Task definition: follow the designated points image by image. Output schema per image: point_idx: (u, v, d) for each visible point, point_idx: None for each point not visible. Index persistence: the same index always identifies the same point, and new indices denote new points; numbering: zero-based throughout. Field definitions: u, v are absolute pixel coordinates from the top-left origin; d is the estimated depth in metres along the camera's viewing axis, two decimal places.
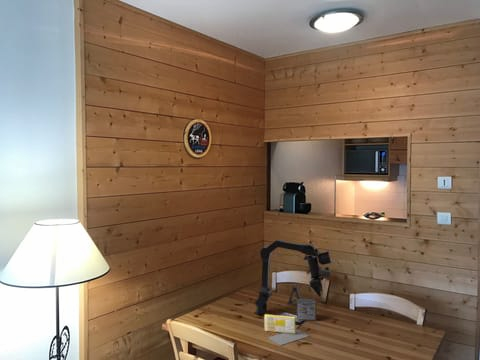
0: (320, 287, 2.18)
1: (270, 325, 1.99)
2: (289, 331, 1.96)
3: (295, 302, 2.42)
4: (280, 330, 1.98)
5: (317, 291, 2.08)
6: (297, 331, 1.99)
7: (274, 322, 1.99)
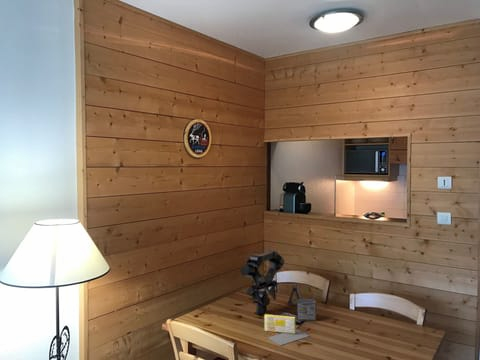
0: (273, 296, 2.11)
1: (270, 325, 1.99)
2: (289, 331, 1.96)
3: (295, 302, 2.42)
4: (280, 330, 1.98)
5: (257, 299, 2.06)
6: (297, 331, 1.99)
7: (274, 322, 1.99)
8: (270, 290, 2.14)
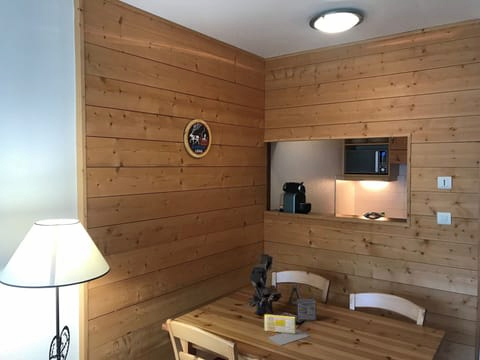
0: None
1: (270, 325, 1.99)
2: (289, 331, 1.96)
3: (295, 302, 2.42)
4: (280, 330, 1.98)
5: (267, 309, 2.05)
6: (297, 331, 1.99)
7: (274, 322, 1.99)
8: None
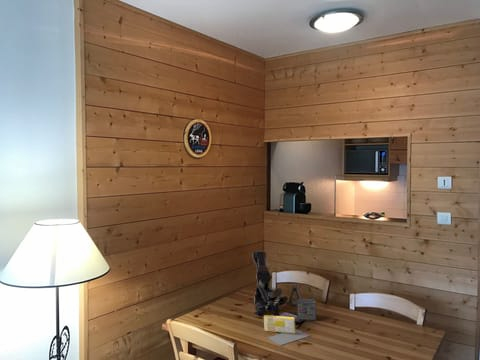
0: None
1: (269, 326, 1.99)
2: (289, 331, 1.96)
3: (295, 302, 2.42)
4: (280, 330, 1.97)
5: (273, 313, 2.01)
6: (297, 331, 1.99)
7: (273, 323, 1.98)
8: None
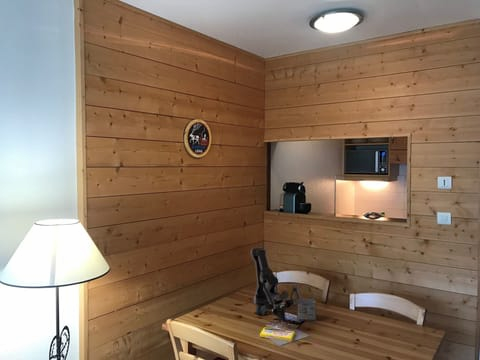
0: None
1: None
2: None
3: (295, 302, 2.42)
4: None
5: (279, 316, 1.97)
6: (297, 331, 1.99)
7: None
8: None
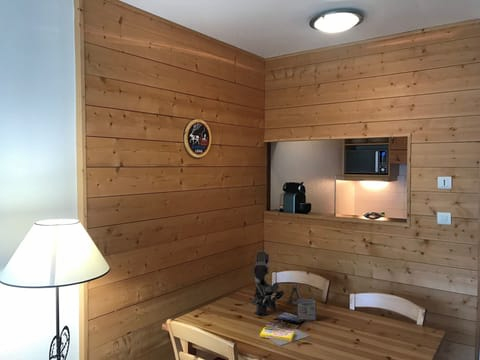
0: None
1: None
2: None
3: (295, 302, 2.42)
4: None
5: (270, 307, 2.03)
6: (297, 331, 1.99)
7: None
8: None
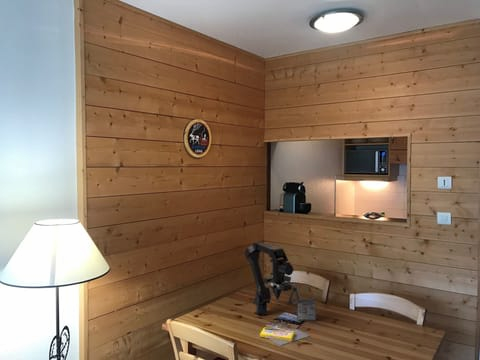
0: None
1: None
2: None
3: (295, 302, 2.42)
4: None
5: (278, 294, 2.10)
6: (297, 331, 1.99)
7: None
8: (275, 288, 2.11)
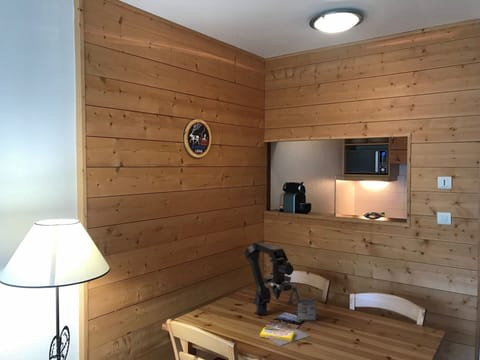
0: None
1: None
2: None
3: (295, 302, 2.42)
4: None
5: (278, 294, 2.10)
6: (297, 331, 1.99)
7: None
8: (275, 288, 2.11)
